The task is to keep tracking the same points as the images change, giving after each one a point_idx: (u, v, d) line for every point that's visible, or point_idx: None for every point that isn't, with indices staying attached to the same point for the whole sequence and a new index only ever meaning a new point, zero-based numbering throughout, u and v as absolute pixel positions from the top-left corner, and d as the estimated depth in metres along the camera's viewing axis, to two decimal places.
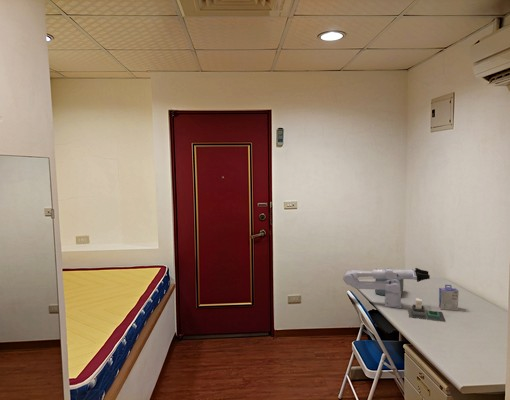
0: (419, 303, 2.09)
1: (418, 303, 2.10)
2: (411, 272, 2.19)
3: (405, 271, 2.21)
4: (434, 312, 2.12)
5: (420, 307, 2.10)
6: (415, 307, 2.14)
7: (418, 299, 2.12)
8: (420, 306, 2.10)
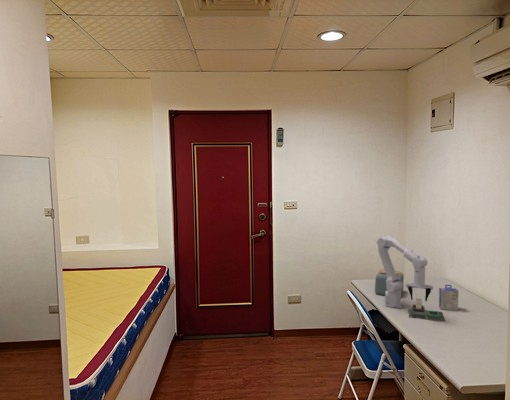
0: (419, 303, 2.09)
1: (418, 303, 2.10)
2: (415, 284, 2.10)
3: (417, 279, 2.09)
4: (434, 312, 2.12)
5: (420, 307, 2.10)
6: (415, 307, 2.14)
7: (418, 299, 2.12)
8: (420, 306, 2.10)
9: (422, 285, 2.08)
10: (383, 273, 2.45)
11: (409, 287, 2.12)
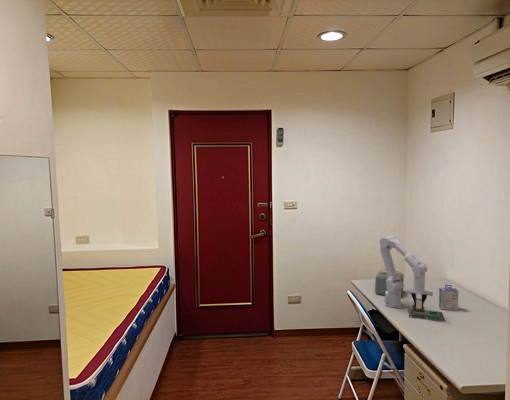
0: (419, 303, 2.09)
1: (418, 303, 2.10)
2: (415, 290, 2.10)
3: (416, 285, 2.09)
4: (434, 312, 2.12)
5: (420, 307, 2.10)
6: (415, 307, 2.14)
7: (418, 299, 2.12)
8: (420, 306, 2.10)
9: (422, 291, 2.08)
10: (383, 273, 2.45)
11: (409, 293, 2.12)
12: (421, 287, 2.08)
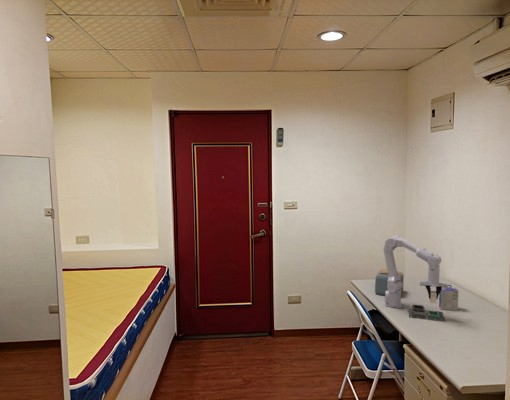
0: (434, 295, 2.06)
1: (433, 295, 2.06)
2: (430, 282, 2.07)
3: (431, 277, 2.06)
4: (434, 312, 2.12)
5: (435, 299, 2.07)
6: None
7: (432, 291, 2.09)
8: (435, 298, 2.07)
9: (437, 283, 2.05)
10: (383, 273, 2.45)
11: (423, 285, 2.09)
12: (436, 279, 2.05)
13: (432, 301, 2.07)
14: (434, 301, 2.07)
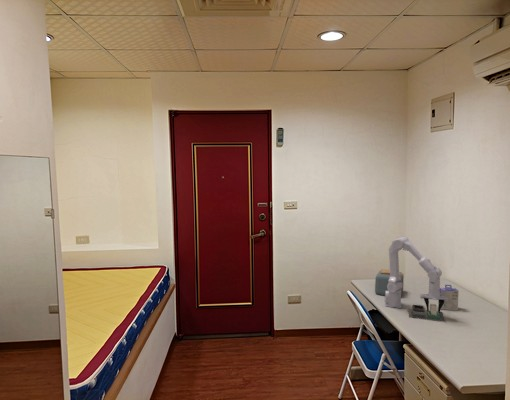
0: (434, 309, 2.07)
1: (433, 309, 2.07)
2: (430, 295, 2.07)
3: (431, 290, 2.07)
4: None
5: (435, 313, 2.07)
6: (430, 313, 2.12)
7: (433, 305, 2.09)
8: (435, 312, 2.07)
9: (437, 296, 2.06)
10: (383, 273, 2.45)
11: None
12: (436, 292, 2.06)
13: (432, 314, 2.08)
14: (434, 314, 2.08)
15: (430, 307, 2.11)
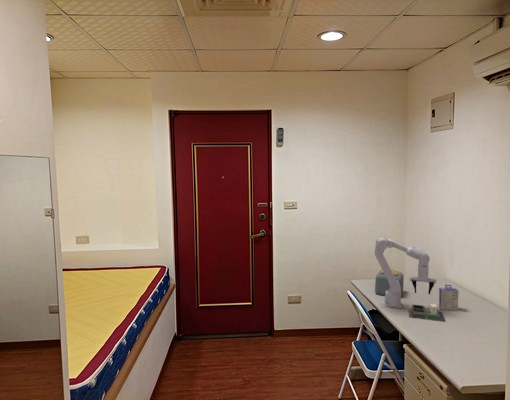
0: (434, 309, 2.07)
1: (433, 309, 2.07)
2: (419, 278, 2.19)
3: (420, 273, 2.18)
4: None
5: (435, 313, 2.07)
6: (430, 313, 2.12)
7: (433, 305, 2.09)
8: (435, 312, 2.07)
9: (425, 279, 2.17)
10: (383, 273, 2.45)
11: (413, 281, 2.21)
12: (425, 275, 2.17)
13: (432, 314, 2.08)
14: (434, 314, 2.08)
15: (430, 307, 2.11)
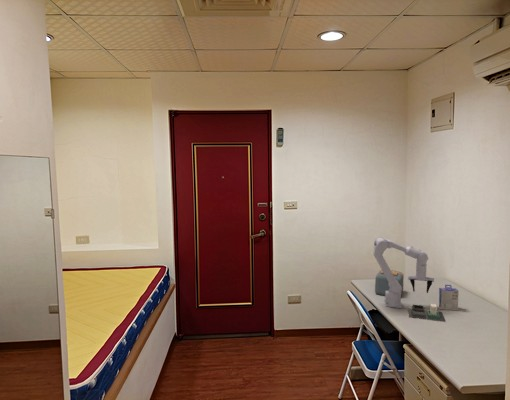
0: (434, 309, 2.07)
1: (433, 309, 2.07)
2: (417, 277, 2.21)
3: (418, 272, 2.20)
4: None
5: (435, 313, 2.07)
6: (430, 313, 2.12)
7: (433, 305, 2.09)
8: (435, 312, 2.07)
9: (424, 277, 2.19)
10: (383, 273, 2.45)
11: (411, 279, 2.23)
12: (423, 273, 2.19)
13: (432, 314, 2.08)
14: (434, 314, 2.08)
15: (430, 307, 2.11)
